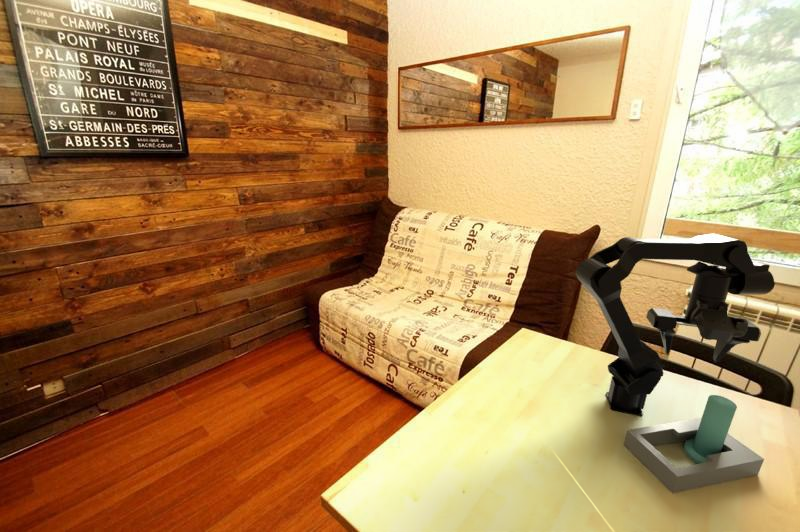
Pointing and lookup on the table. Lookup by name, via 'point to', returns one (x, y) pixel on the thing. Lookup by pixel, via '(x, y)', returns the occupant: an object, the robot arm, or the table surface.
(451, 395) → the table surface
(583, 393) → the table surface
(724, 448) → the keyhole plate
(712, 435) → the peg
